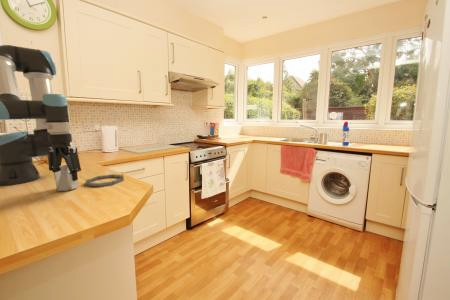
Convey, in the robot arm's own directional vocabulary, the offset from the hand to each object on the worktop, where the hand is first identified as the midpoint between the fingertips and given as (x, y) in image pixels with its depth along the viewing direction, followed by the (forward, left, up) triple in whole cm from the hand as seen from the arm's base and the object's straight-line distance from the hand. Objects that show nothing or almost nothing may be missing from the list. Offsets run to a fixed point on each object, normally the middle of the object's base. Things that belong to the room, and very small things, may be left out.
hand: (67, 187), depth 89 cm
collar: (+8, +12, -1) cm, 14 cm away
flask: (0, 0, -1) cm, 1 cm away
